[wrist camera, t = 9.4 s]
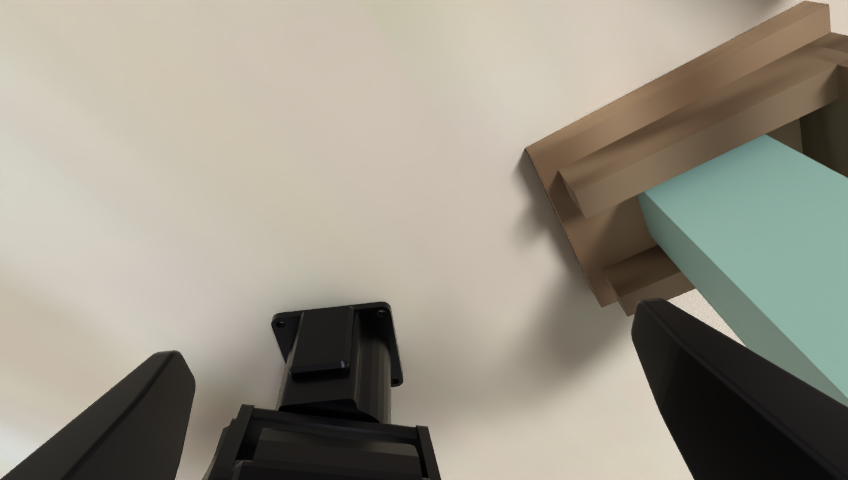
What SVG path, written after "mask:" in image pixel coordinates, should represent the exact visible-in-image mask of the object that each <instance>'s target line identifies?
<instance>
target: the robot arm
mask: <svg viewBox="0 0 848 480" xmlns="http://www.w3.org/2000/svg"><path fill="white" fill-rule="evenodd" d="M380 310H384V311H385V312H379V311H380ZM279 321H281V322H284V323H280V322H279ZM271 326H272V328H273V331H274V334H275V336H276V339H277V342H278V344H279V347H280V350H281V352H282V355H283V358H284V360H285V363H286V367H285V371H284V375H283V380H282V384H281V388H280V392H279V396H278V400H277V404H276V408H275V410H269V409H261V408H254V405H245V404H242V406H241V408H240V411H239V413H238V416H237V418H236V419H232V421H231V423H230V426H228V427H226V428H224V429H223V432H222V434H221V437H220V440H219V443H218V446H217V449H216V452H215V455H214V457H213V460H212V462H211V464H210V466H209V468H208V470H207V472H206V473H205V475H204V477H203V478H202V480H441V477H440V473H439V469H438V466H437V462H436V458H435V454H434V450H433V446H432V442H431V438H430V434H429V430H428V427H426V426H418V425H416V427H409V426H401V425H393V424H391V387H397V386H400V385H401V384H402V383H403V373H402V367H401V362H400V356H399V350H398V345H397V339H396V333H395V328H394V322H393V317H392V311H391V307H390V305H389V304H388V303H386V302H375V303H366V304H357V305H348V306H339V307H330V308H321V309H311V310H302V311H293V312H284V313H278V314H276V315H274V317H273V319H272V323H271ZM631 335H632V341H633V344H634V346H635V349H636V352H637V354H638V357H639V359H640V362H641V365H642V367H643V370H644V373H645V375H646V378H647V380H648V383H649V386H650V388H651V391H652V394H653V396H654V399H655V401H656V404H657V406H658V409H659V411H660V413H661V415H662V417H663V420H664V422H665V424H666V426H667V428H668V430H669V432H670V433H671V435H672V437H673V439H674V441H675V443H676V445H677V447H678V449H679V451H680V453H681V455H682V457H683V459H684V461H685V463H686V465H687V467H688V469H689V470H690V472H691V474H692V476H693V478H694V480H848V407H847V406H845V405H844V404H842V403H840V402H839V401H837V400H835V399H833V398H832V397H830V396H828V395H827V394H825V393H823V392H821V391H820V390H818V389H816V388H815V387H813V386H811V385H810V384H808V383H806V382H804V381H803V380H801V379H799V378H798V377H796V376H794V375H792V374H791V373H789V372H787V371H786V370H784V369H782V368H781V367H779V366H777V365H775V364H774V363H772V362H770V361H769V360H767V359H765V358H763V357H762V356H760V355H758V354H757V353H755V352H753V351H752V350H750V349H748V348H746V347H745V346H743V345H741V344H740V343H738V342H736V341H734V340H733V339H731V338H729V337H728V336H726V335H724V334H723V333H721V332H719V331H717V330H716V329H714V328H712V327H711V326H709V325H707V324H705V323H704V322H702V321H700V320H699V319H697V318H695V317H694V316H692V315H690V314H688V313H687V312H685V311H683V310H682V309H680V308H678V307H676V306H675V305H673V304H671V303H670V302H668V301H666V300H664V299H662V298H650V299H642V300H640V301H639V302H638V303H637V306H636V310H635V315H634V320H633V324H632V330H631ZM394 378H396V379H394ZM194 393H195V379H194V376H193V374H192V372H191V371H190V369H189V367H188V365H187V363H186V361H185V360H184V358H183V356H182V354H181V353H180V352H178V351H175V350H173V351H164V352H157V353H155V354H153V355H152V356H150V357H149V358H148V359H147V360H146V361H144V362H143V363H142V364H141V365H139V366H138V367H137V368H136V369H135V370H133V371H132V372H131V373H130V374H128V375H127V376H126V377H125V378H124V379H122V380H121V381H120V382H119V383H117V384H116V385H115V386H114V387H113V388H111V389H110V390H109V391H108V392H106V393H105V394H104V395H103V396H102V397H100V398H99V399H98V400H97V401H95V402H94V403H93V404H92V405H91V406H89V407H88V408H87V409H86V410H84V411H83V412H82V413H81V414H80V415H78V416H77V417H76V418H75V419H73V420H72V421H71V422H70V423H69V424H67V425H66V426H65V427H64V428H62V429H61V430H60V431H59V432H58V433H56V434H55V435H54V436H53V437H51V438H50V439H49V440H48V441H47V442H45V443H44V444H43V445H42V446H40V447H39V448H38V449H37V450H36V451H34V452H33V453H32V454H31V455H29V456H28V457H27V458H26V459H25V460H23V461H22V462H21V463H20V464H18V465H17V466H16V467H15V468H14V469H12V470H11V471H10V472H9V473H7V474H6V475H5V476H4V477H3V478H1V479H0V480H175V477H176V473H177V470H178V467H179V463H180V459H181V455H182V450H183V446H184V441H185V436H186V431H187V427H188V422H189V417H190V412H191V408H192V403H193V398H194Z"/></svg>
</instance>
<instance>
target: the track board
mask: <svg viewBox="0 0 848 480" xmlns="http://www.w3.org/2000/svg"><path fill="white" fill-rule="evenodd" d="M764 134H766V135H767V136H769V137H771V138H773V139H775V140H777V141H779V142H781V143H783V144H784V145H786V146H788V147H790V148H792V149H794V150H796V151H798V152H799V153H801V154H803V155H805V156H807V157H809V158H811V159H813V160H815V161H816V162H818V163H820V164H822V165H824V166H826V167H828V168H830V169H831V170H833V171H835V172H837V173H839V174H841V175H843V176H845V177H847V178H848V36H846V35H841V34H837V33H832V32H831V30H830V13H829V4H823V3H816V2H810V1H804V2H802V3H800V4H798V5H796V6H794V7H792V8H790V9H788V10H787V11H785V12H783V13H781V14H779V15H777V16H775V17H773V18H771V19H769V20H768V21H766V22H764V23H762V24H760V25H758V26H756V27H754V28H752V29H750V30H749V31H747V32H745V33H743V34H741V35H739V36H737V37H735V38H733V39H731V40H730V41H728V42H726V43H724V44H722V45H720V46H718V47H716V48H714V49H712V50H711V51H709V52H707V53H705V54H703V55H701V56H699V57H697V58H695V59H693V60H692V61H690V62H688V63H686V64H684V65H682V66H680V67H678V68H676V69H674V70H673V71H671V72H669V73H667V74H665V75H663V76H661V77H659V78H657V79H655V80H654V81H652V82H650V83H648V84H646V85H644V86H642V87H640V88H638V89H636V90H635V91H633V92H631V93H629V94H627V95H625V96H623V97H621V98H619V99H617V100H616V101H614V102H612V103H610V104H608V105H606V106H604V107H602V108H600V109H599V110H597V111H595V112H593V113H591V114H589V115H587V116H585V117H583V118H581V119H580V120H578V121H576V122H574V123H572V124H570V125H568V126H566V127H564V128H562V129H561V130H559V131H557V132H555V133H553V134H551V135H549V136H547V137H545V138H543V139H542V140H540V141H538V142H536V143H534V144H532V145H530V146H528V147H526V151H527V153H528V155H529V157H530V159H531V161H532V163H533V166H534V168H535V170H536V172H537V174H538V176H539V178H540V180H541V183H542V185H543V187H544V189H545V191H546V193H547V195H548V197H549V200H550V202H551V204H552V206H553V208H554V210H555V212H556V215H557V217H558V219H559V221H560V223H561V225H562V227H563V229H564V232H565V234H566V236H567V238H568V240H569V242H570V244H571V246H572V249H573V251H574V253H575V255H576V257H577V259H578V261H579V264H580V266H581V268H582V270H583V272H584V274H585V276H586V278H587V281H588V283H589V285H590V287H591V289H592V291H593V293H594V295H595V297H596V299H597V300H598V302H599V304H600V306H601V307H604V306H606V305H609V304H611V303H613V302H616V301H618V302H619V303H620V305H621V307H622V308H623V310H624V311H625V313H626V315H627V316H630V315H633V314H635V310H636V306H637V303H638V302H639V301H640V300H642V299H650V298H662V299H664V300H666V301H667V300H669V299H671V298H674V297H676V296H679V295H681V294H683V293H686V292H688V291H691V290H693V289H695V286H694V285H693V284H692V283H691V282H690V281H689V280H688V278H687V277H686V276H685V275H684V274H683V273H682V271H681V270H680V269H679V268H678V267H677V266H676V264H675V263H674V262H673V261H672V260H671V259H670V258H669V256H668V255H667V254H666V253H665V252H664V251H663V249H662V248H661V247H660V246H659V245H658V244H657V243H656V241H655V240H654V239H653V238H652V237H651V236H650V233H649V230H648V228H647V225H646V222H645V219H644V216H643V213H642V210H641V207H640V204H639V201H638V198H637V194H640V193H642V192H644V191H646V190H648V189H650V188H652V187H654V186H656V185H659V184H661V183H663V182H665V181H667V180H669V179H671V178H673V177H675V176H678V175H680V174H682V173H684V172H686V171H688V170H690V169H692V168H694V167H697V166H699V165H701V164H703V163H705V162H707V161H709V160H711V159H713V158H716V157H718V156H720V155H722V154H724V153H726V152H728V151H730V150H732V149H735V148H737V147H739V146H741V145H743V144H745V143H747V142H749V141H751V140H754V139H756V138H758V137H760V136H762V135H764Z"/></svg>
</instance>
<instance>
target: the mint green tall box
mask: <svg viewBox="0 0 848 480" xmlns="http://www.w3.org/2000/svg"><path fill="white" fill-rule="evenodd" d="M637 198H638V201H639V204H640V207H641V210H642V213H643V216H644V219H645V222H646V225H647V228H648V230H649V233H650V236H651V237H652V238H653V239H654V240H655V241H656V243H657V244H658V245H659V246H660V247H661V248H662V249H663V251H664V252H665V253H666V254H667V255H668V256H669V258H670V259H671V260H672V261H673V262H674V263H675V264H676V266H677V267H678V268H679V269H680V270H681V271H682V273H683V274H684V275H685V276H686V277H687V278H688V280H689V281H690V282H691V283H692V284H693V285H694V286H695V288H696V289H697V290H698V291H699V292H700V293H701V295H702V296H703V297H704V298H705V299H706V300H707V302H708V303H709V304H710V305H711V306H712V307H713V308H714V310H715V311H716V312H717V313H718V314H719V315H720V317H721V318H722V319H723V320H724V321H725V322H726V324H727V325H728V326H729V327H730V328H731V329H732V330H733V332H734V333H735V334H736V335H737V336H738V337H739V339H740V340H741V341H742V342H743V343H744V344H745V345H746V347H747V348H748V349H750V350H752V351H753V352H755V353H757V354H758V355H760V356H762V357H763V358H765V359H767V360H769V361H770V362H772V363H774V364H775V365H777V366H779V367H781V368H782V369H784V370H786V371H787V372H789V373H791V374H792V375H794V376H796V377H798V378H799V379H801V380H803V381H804V382H806V383H808V384H810V385H811V386H813V387H815V388H816V389H818V390H820V391H821V392H823V393H825V394H827V395H828V396H830V397H832V398H833V399H835V400H837V401H839V402H840V403H842V404H844V405H845V406H847V407H848V178H847V177H845V176H843V175H841V174H839V173H837V172H835V171H833V170H831V169H830V168H828V167H826V166H824V165H822V164H820V163H818V162H816V161H815V160H813V159H811V158H809V157H807V156H805V155H803V154H801V153H799V152H798V151H796V150H794V149H792V148H790V147H788V146H786V145H784V144H783V143H781V142H779V141H777V140H775V139H773V138H771V137H769V136H767V135H766V134H764V135H762V136H760V137H758V138H756V139H754V140H751V141H749V142H747V143H745V144H743V145H741V146H739V147H737V148H735V149H732V150H730V151H728V152H726V153H724V154H722V155H720V156H718V157H716V158H713V159H711V160H709V161H707V162H705V163H703V164H701V165H699V166H697V167H694V168H692V169H690V170H688V171H686V172H684V173H682V174H680V175H678V176H675V177H673V178H671V179H669V180H667V181H665V182H663V183H661V184H659V185H656V186H654V187H652V188H650V189H648V190H646V191H644V192H642V193H640V194H637Z"/></svg>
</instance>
